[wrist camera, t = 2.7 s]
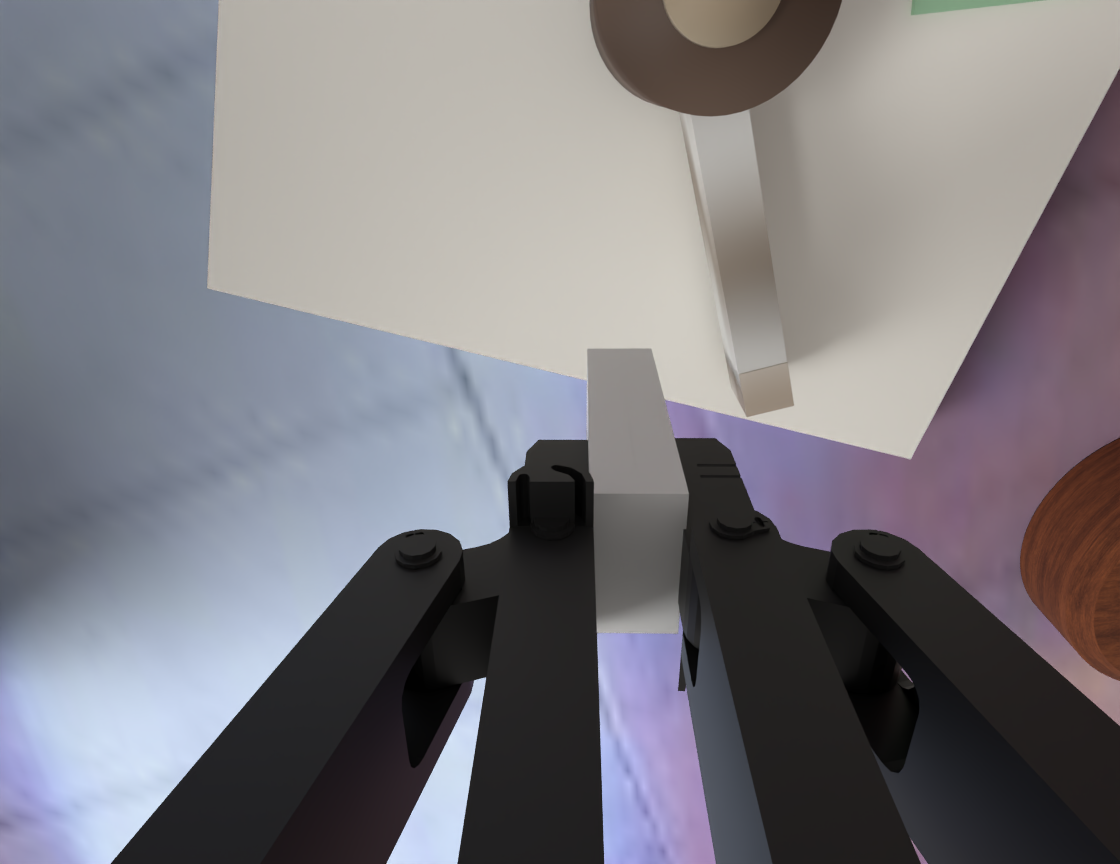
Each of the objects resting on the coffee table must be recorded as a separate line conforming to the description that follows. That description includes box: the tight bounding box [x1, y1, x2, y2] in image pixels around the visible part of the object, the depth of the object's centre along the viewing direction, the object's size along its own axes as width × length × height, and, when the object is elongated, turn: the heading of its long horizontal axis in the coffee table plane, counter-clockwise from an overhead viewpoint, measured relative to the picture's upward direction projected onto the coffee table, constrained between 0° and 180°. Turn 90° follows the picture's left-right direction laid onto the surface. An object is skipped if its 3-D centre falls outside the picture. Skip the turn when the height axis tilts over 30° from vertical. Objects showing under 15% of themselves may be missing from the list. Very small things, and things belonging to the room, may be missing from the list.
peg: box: [589, 0, 842, 417], centre depth 18 cm, size 14×5×5 cm, turn 16°
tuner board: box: [207, 0, 1120, 459], centre depth 20 cm, size 24×22×3 cm
